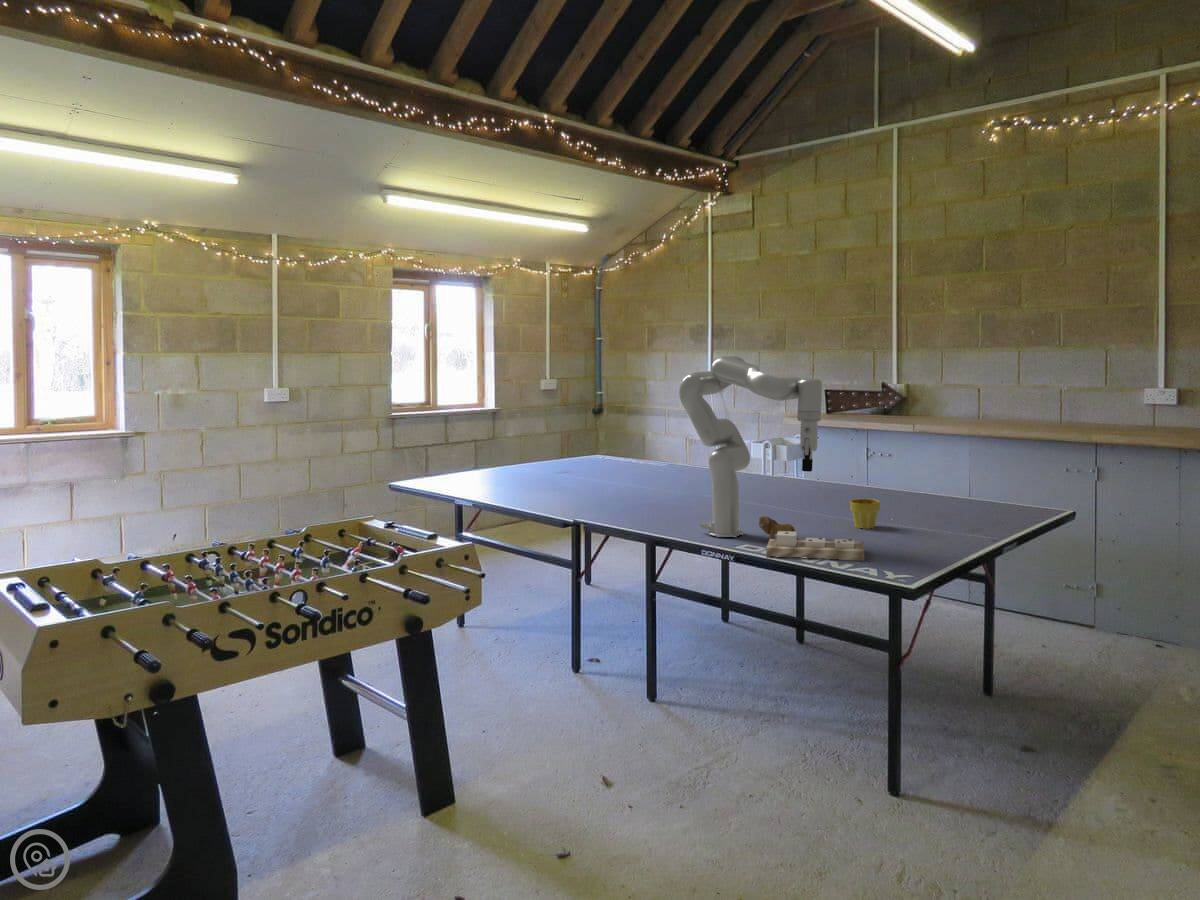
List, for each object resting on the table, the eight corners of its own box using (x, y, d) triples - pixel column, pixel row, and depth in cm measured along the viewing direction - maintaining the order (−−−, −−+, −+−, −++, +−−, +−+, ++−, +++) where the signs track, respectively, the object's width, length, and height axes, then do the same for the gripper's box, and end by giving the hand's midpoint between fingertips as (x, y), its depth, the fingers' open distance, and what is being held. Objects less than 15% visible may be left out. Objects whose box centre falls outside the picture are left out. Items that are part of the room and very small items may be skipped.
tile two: (805, 553, 277) (805, 541, 276) (806, 549, 282) (806, 536, 282) (824, 554, 275) (824, 541, 275) (825, 550, 281) (825, 537, 280)
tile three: (834, 555, 274) (834, 542, 274) (834, 550, 280) (834, 538, 279) (854, 556, 273) (854, 543, 272) (854, 551, 278) (854, 538, 278)
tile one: (776, 547, 279) (776, 534, 278) (778, 543, 285) (778, 530, 284) (795, 547, 277) (795, 535, 277) (796, 543, 283) (796, 531, 283)
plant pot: (857, 531, 310) (857, 504, 309) (845, 525, 320) (845, 499, 319) (884, 529, 311) (884, 502, 310) (871, 523, 321) (872, 497, 320)
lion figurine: (757, 543, 296) (757, 517, 295) (760, 539, 301) (760, 514, 300) (800, 545, 291) (800, 519, 290) (803, 542, 296) (803, 516, 294)
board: (766, 557, 277) (766, 547, 276) (769, 547, 289) (769, 538, 289) (864, 560, 269) (864, 551, 268) (863, 550, 281) (863, 541, 281)
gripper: (819, 418, 277) (817, 475, 279) (822, 414, 291) (820, 468, 293) (795, 418, 279) (793, 474, 282) (799, 413, 293) (797, 466, 296)
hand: (807, 470), depth 287 cm, fingers closed
